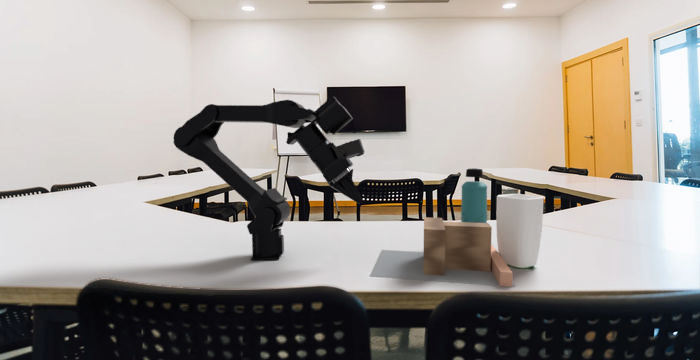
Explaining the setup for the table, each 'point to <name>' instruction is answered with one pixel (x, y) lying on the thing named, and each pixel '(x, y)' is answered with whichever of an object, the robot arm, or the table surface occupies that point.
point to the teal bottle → (474, 199)
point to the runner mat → (412, 268)
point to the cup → (519, 228)
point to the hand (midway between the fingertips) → (361, 202)
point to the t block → (456, 246)
